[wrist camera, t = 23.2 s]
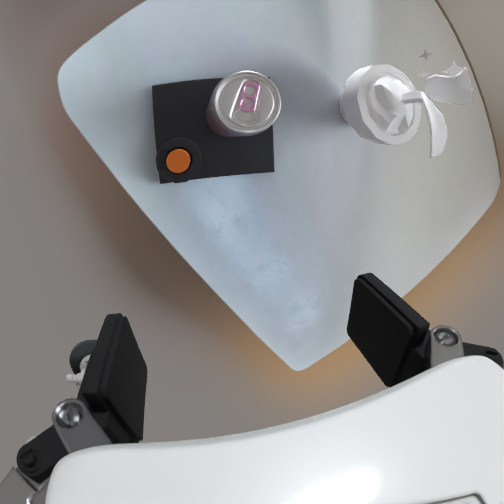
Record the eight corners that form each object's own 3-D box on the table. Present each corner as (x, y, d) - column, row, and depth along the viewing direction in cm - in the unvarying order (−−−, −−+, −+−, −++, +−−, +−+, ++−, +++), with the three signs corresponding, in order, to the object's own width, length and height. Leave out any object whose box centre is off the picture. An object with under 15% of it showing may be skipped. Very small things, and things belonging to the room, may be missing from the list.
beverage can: (253, 99, 33) (289, 78, 19) (245, 140, 35) (276, 142, 22) (210, 91, 31) (219, 62, 18) (202, 133, 33) (205, 129, 20)
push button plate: (161, 182, 36) (158, 185, 34) (153, 87, 31) (150, 83, 28) (271, 170, 39) (277, 173, 36) (267, 78, 33) (273, 74, 30)
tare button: (168, 172, 34) (167, 174, 32) (166, 150, 32) (165, 151, 31) (191, 169, 34) (190, 171, 32) (189, 147, 33) (188, 148, 31)
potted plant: (340, 60, 33) (463, 23, 11) (391, 101, 37) (514, 105, 15) (307, 121, 37) (435, 120, 14) (363, 159, 41) (490, 197, 18)
